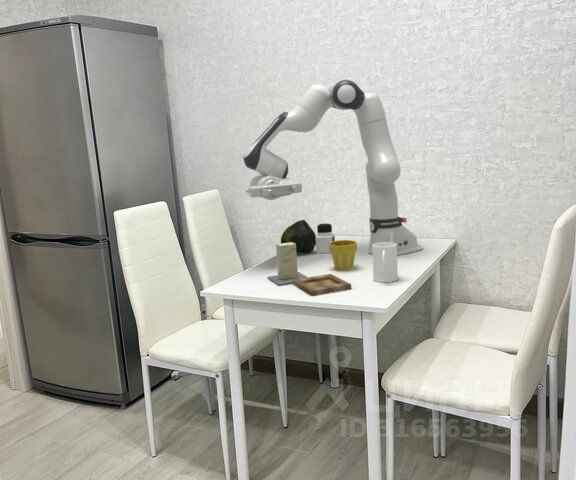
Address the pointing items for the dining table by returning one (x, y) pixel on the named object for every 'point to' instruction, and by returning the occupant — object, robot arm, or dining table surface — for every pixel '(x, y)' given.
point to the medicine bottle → (324, 238)
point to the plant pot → (343, 253)
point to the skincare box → (286, 260)
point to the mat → (285, 281)
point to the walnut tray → (321, 284)
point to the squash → (300, 237)
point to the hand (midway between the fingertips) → (282, 191)
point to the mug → (385, 262)
